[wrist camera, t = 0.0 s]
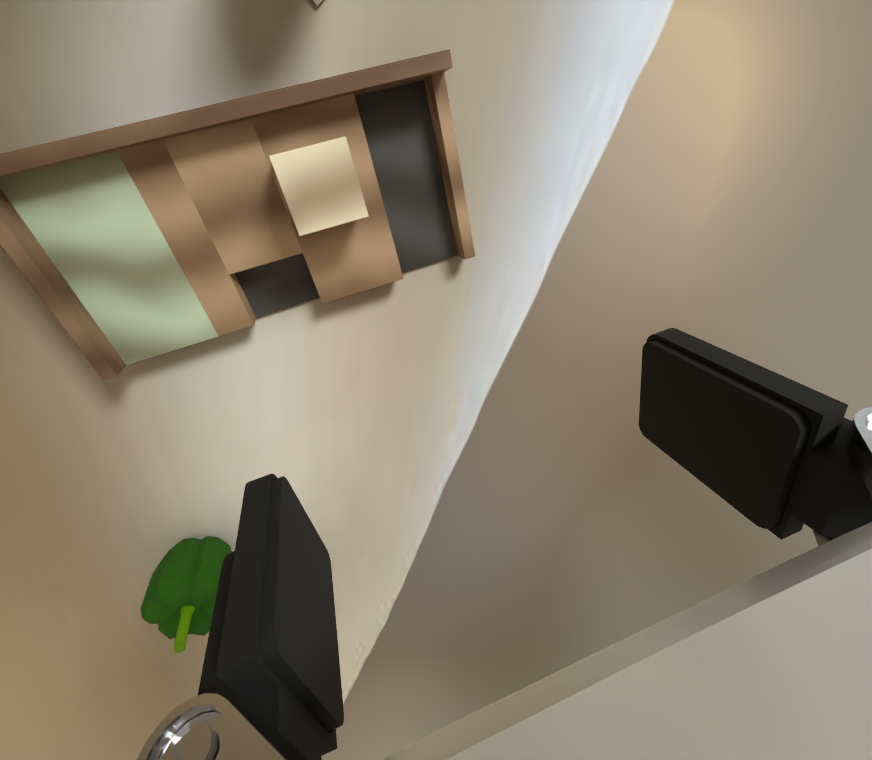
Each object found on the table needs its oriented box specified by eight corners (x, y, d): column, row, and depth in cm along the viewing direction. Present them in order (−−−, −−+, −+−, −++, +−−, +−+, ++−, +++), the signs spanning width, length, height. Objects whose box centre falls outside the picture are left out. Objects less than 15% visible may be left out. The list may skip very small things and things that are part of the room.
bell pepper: (184, 514, 44) (157, 597, 36) (255, 537, 49) (246, 616, 40) (144, 566, 46) (109, 657, 38) (216, 584, 50) (200, 670, 42)
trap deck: (-10, 166, 28) (-58, 167, 24) (431, 62, 32) (449, 49, 29) (124, 356, 36) (103, 380, 32) (465, 251, 40) (483, 260, 36)
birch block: (272, 156, 30) (268, 156, 26) (338, 139, 31) (345, 136, 27) (299, 226, 33) (299, 236, 28) (359, 209, 33) (368, 216, 29)
